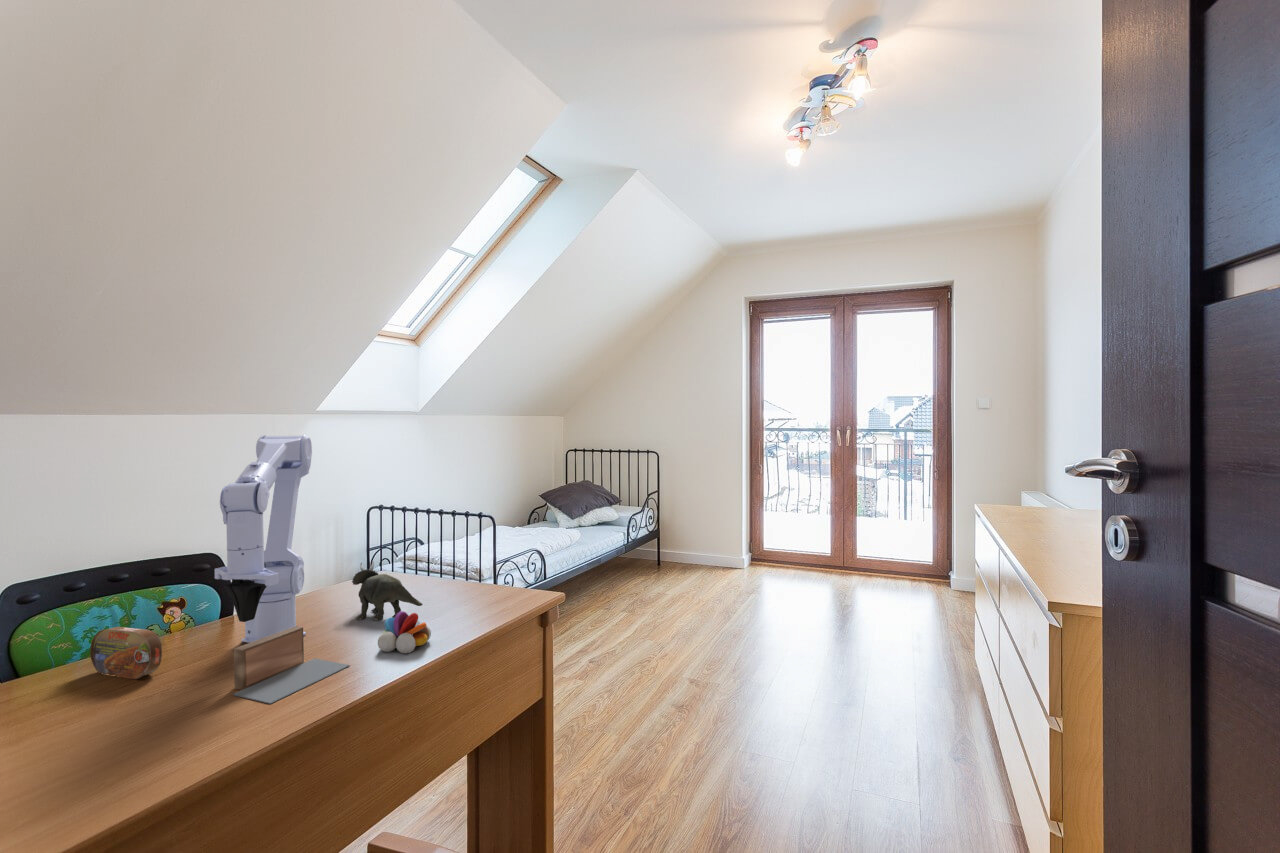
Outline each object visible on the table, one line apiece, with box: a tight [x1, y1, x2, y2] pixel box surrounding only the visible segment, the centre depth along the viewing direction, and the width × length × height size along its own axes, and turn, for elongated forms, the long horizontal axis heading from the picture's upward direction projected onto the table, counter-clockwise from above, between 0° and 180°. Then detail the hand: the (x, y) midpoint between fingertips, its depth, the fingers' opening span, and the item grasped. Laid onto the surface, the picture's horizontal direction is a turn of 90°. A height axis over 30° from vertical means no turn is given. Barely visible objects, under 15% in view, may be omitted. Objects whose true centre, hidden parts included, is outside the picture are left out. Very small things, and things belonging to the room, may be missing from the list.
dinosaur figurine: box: [351, 560, 424, 621], centre depth 142 cm, size 22×8×11 cm, turn 58°
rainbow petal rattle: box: [377, 610, 432, 654], centre depth 123 cm, size 8×10×7 cm
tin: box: [89, 626, 163, 680], centre depth 111 cm, size 15×3×8 cm, turn 74°
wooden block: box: [233, 625, 305, 691], centre depth 110 cm, size 2×12×7 cm, turn 159°
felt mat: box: [232, 657, 351, 705], centre depth 108 cm, size 9×16×1 cm, turn 158°
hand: (247, 620), depth 112 cm, fingers closed
